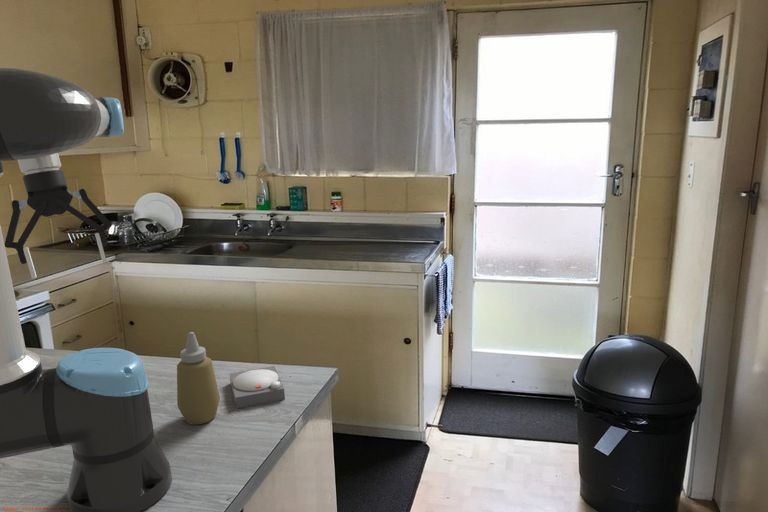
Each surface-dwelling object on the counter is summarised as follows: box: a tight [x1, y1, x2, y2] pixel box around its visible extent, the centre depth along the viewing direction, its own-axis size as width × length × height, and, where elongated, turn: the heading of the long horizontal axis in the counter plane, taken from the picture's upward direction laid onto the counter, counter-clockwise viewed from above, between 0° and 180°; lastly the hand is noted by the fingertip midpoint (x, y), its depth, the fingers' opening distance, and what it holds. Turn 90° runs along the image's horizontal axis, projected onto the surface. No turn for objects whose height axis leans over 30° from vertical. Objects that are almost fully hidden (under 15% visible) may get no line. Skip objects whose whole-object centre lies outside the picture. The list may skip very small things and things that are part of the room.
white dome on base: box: [229, 365, 286, 409], centre depth 123 cm, size 12×10×3 cm
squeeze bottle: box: [176, 331, 221, 425], centre depth 111 cm, size 8×8×18 cm
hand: (70, 269), depth 122 cm, fingers open, 13 cm apart
